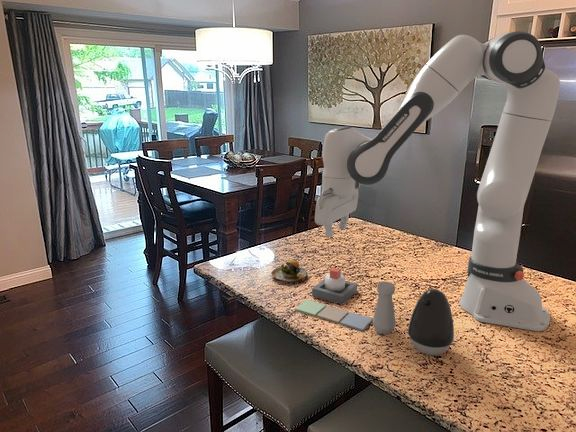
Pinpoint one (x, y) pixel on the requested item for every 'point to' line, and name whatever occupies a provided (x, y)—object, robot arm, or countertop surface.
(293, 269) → the bowl of food
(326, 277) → the dome
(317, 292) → the button housing
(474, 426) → the countertop surface
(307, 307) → the track
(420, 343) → the dark grey egg device
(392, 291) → the salt shaker
